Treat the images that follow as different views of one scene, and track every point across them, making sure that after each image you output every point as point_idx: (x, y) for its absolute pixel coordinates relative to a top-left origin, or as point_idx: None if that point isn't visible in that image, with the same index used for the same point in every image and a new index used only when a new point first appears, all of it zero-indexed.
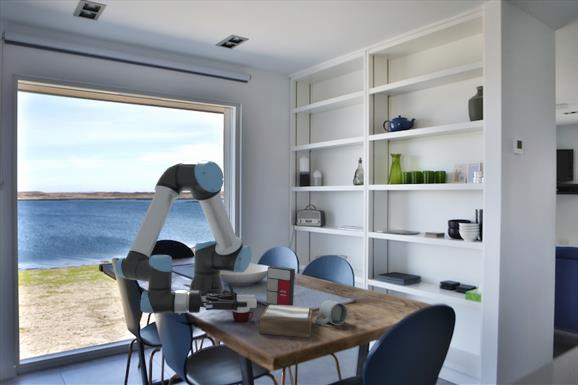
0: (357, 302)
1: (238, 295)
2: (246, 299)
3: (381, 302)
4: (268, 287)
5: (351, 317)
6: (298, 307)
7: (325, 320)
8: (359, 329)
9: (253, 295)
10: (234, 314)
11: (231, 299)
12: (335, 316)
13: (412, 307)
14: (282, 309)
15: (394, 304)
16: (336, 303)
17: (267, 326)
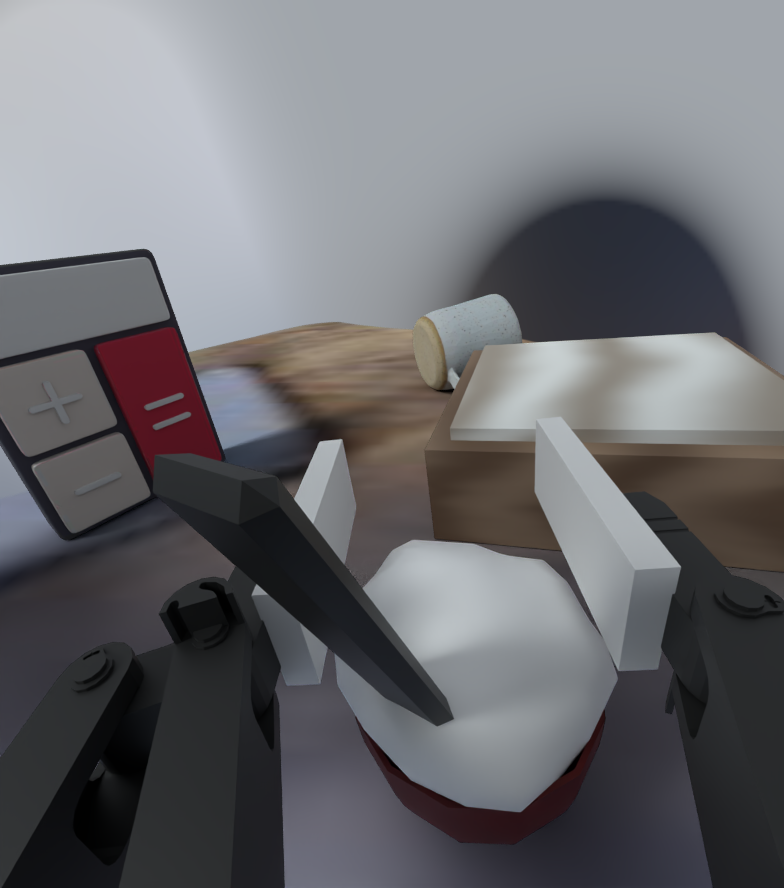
0: (262, 362)
1: None
2: (337, 535)
3: (284, 344)
4: (29, 435)
5: (413, 363)
6: (505, 359)
7: None
8: None
9: (339, 449)
10: (578, 790)
11: (268, 749)
12: None
13: (343, 325)
14: (576, 386)
15: (310, 335)
16: (501, 296)
17: None
